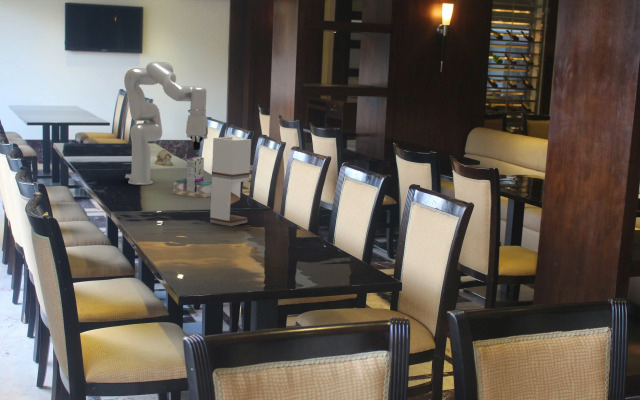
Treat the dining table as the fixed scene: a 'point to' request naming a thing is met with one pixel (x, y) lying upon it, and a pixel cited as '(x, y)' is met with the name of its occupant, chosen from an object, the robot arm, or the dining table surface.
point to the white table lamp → (228, 178)
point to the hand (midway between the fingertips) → (196, 149)
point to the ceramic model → (164, 158)
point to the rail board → (202, 191)
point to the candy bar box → (194, 173)
